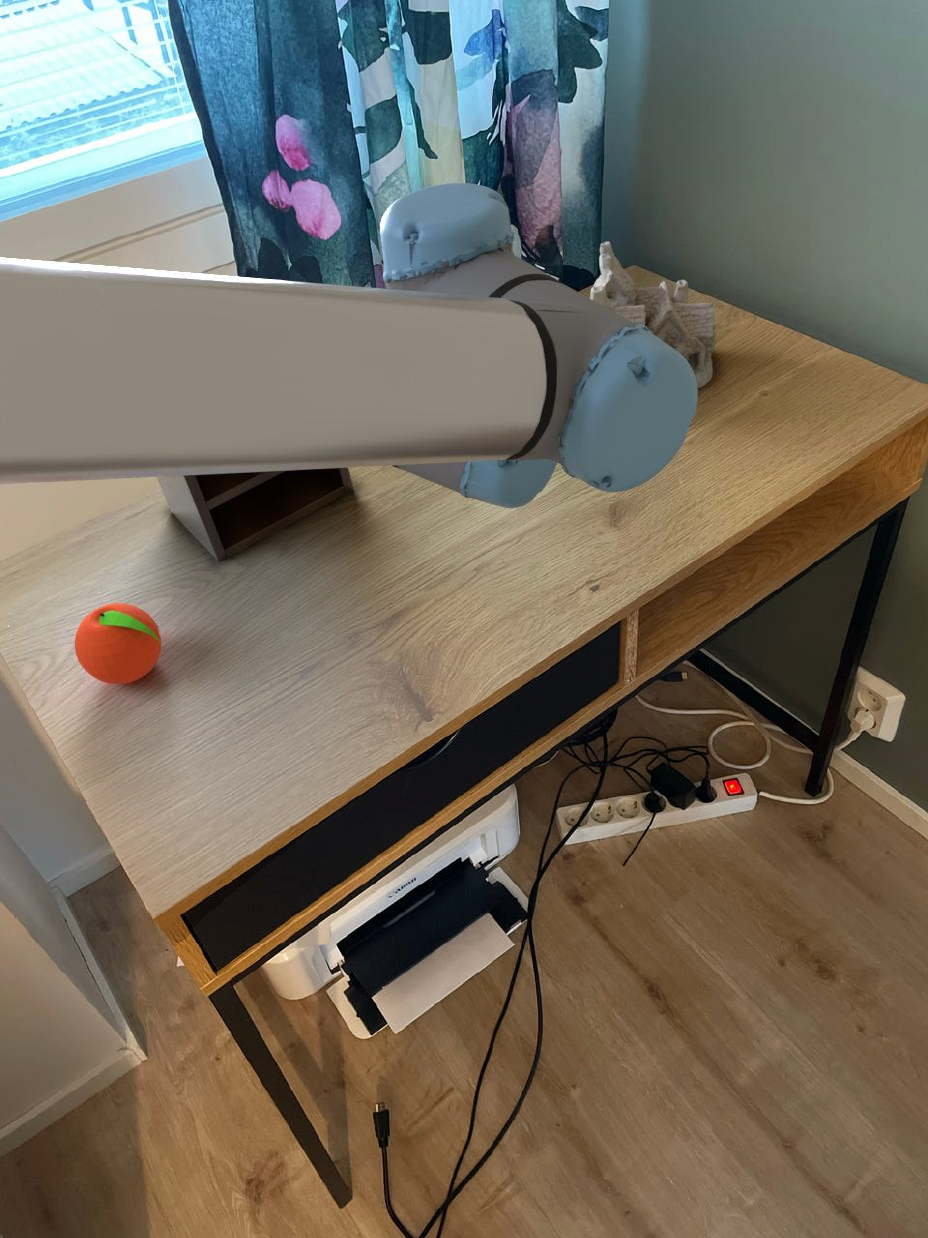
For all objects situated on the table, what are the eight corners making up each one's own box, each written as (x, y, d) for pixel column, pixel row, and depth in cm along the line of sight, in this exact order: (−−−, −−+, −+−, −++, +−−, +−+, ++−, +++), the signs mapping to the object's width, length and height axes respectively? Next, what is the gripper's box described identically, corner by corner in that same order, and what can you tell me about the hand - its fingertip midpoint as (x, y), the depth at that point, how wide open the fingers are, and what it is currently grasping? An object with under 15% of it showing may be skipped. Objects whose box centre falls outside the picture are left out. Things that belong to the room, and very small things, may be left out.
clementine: (196, 646, 80) (169, 589, 75) (160, 707, 76) (129, 651, 70) (119, 637, 82) (87, 581, 77) (79, 695, 78) (42, 639, 72)
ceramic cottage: (557, 413, 99) (564, 281, 89) (587, 343, 110) (596, 218, 100) (700, 433, 96) (725, 297, 85) (716, 358, 107) (740, 230, 96)
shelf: (218, 562, 88) (170, 443, 78) (171, 512, 94) (121, 396, 84) (353, 489, 94) (325, 370, 84) (300, 447, 100) (267, 332, 90)
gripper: (254, 536, 62) (74, 448, 72) (470, 365, 75) (291, 311, 85) (222, 445, 56) (32, 365, 67) (460, 278, 69) (270, 232, 79)
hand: (177, 335), depth 76 cm, fingers open, 13 cm apart
